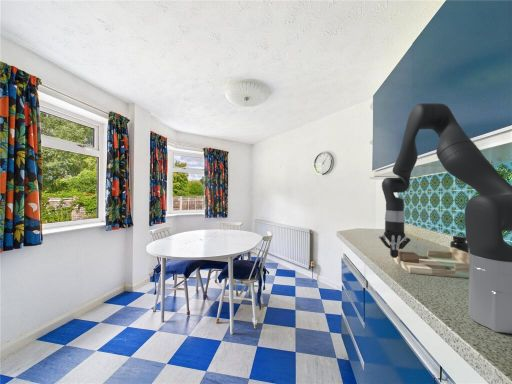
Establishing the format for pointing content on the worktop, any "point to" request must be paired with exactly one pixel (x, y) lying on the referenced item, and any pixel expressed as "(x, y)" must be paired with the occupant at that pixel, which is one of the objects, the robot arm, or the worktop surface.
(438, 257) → the box
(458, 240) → the supplement bottle
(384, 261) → the worktop surface
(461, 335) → the worktop surface
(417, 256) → the walnut block
